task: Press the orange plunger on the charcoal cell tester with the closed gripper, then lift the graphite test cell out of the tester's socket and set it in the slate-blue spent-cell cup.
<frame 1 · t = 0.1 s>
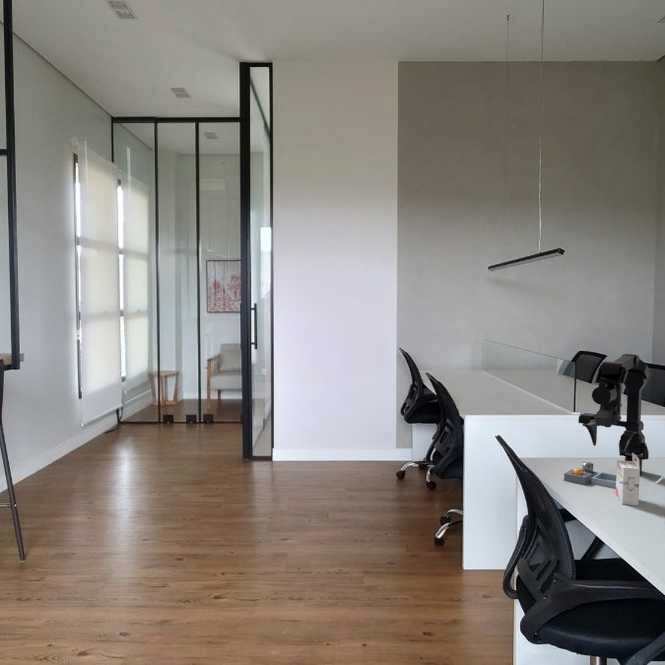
hand: (609, 448, 198), 15 cm above the table, fingers open, 9 cm apart
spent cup: (610, 484, 207), on the table
ink cartridge box: (626, 501, 191), on the table
tester button: (578, 472, 209), point 3 cm above the table, slide at 0.0 cm
tester: (582, 479, 213), on the table
test cell: (587, 474, 216), point 1 cm above the table, touching tester
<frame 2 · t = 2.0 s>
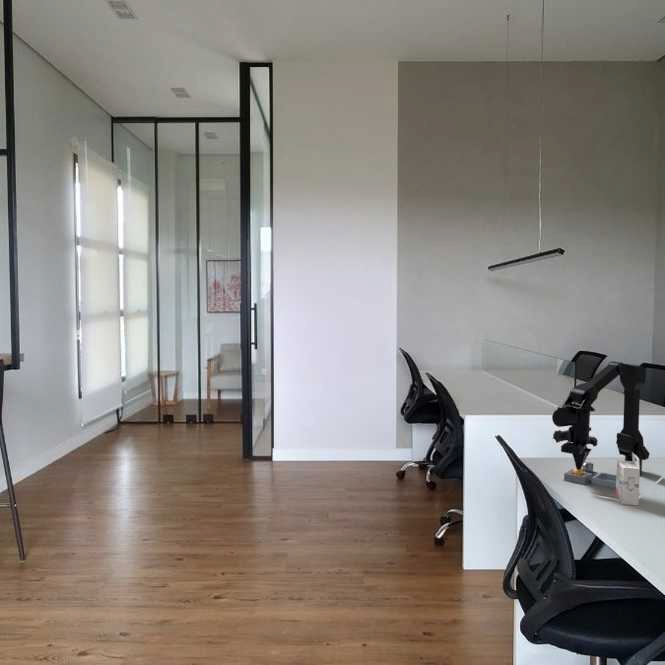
hand: (578, 469, 209), 4 cm above the table, fingers closed, pressing on tester button
tester button: (578, 472, 209), point 3 cm above the table, slide at 0.0 cm, touching gripper
everything else where it was.
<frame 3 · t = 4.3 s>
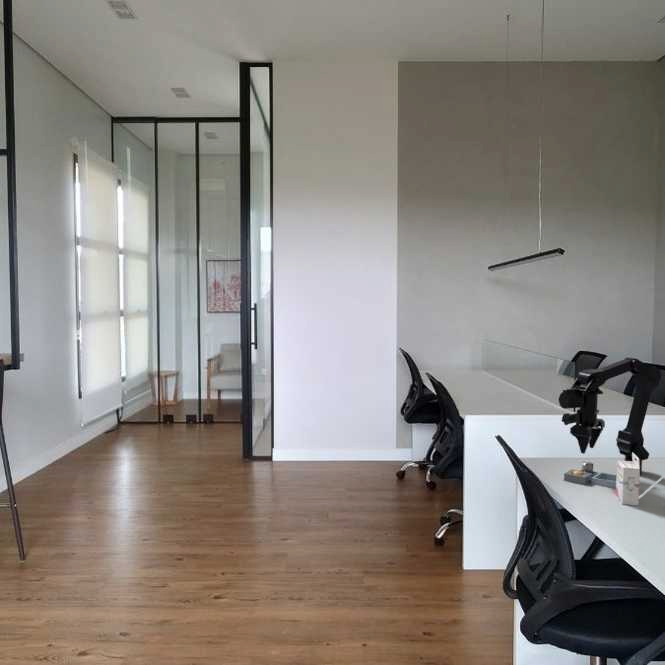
hand: (587, 450, 214), 10 cm above the table, fingers open, 9 cm apart
tester button: (578, 475, 209), point 2 cm above the table, slide at 1.0 cm
everything else where it was.
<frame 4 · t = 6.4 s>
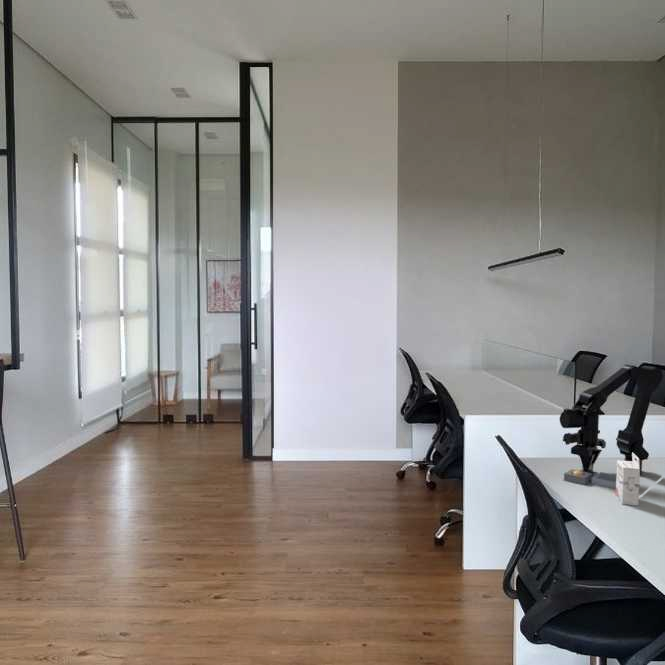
hand: (587, 470, 216), 2 cm above the table, fingers closed on test cell, 4 cm apart
test cell: (587, 474, 216), point 1 cm above the table, touching gripper, tester
everything else where it was.
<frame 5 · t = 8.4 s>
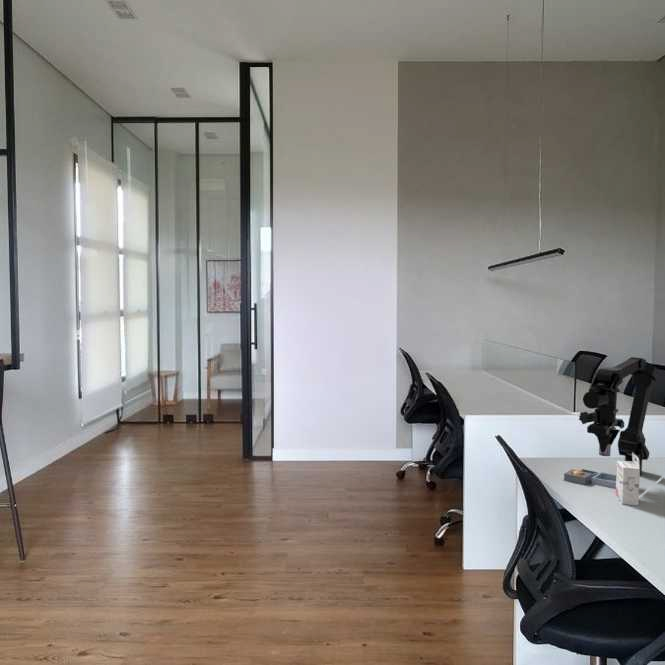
hand: (604, 450, 208), 11 cm above the table, fingers closed on test cell, 4 cm apart
test cell: (604, 454, 209), point 10 cm above the table, touching gripper
everything else where it was.
when the fingers open (3 cm above the table, at t = 10.7 s): test cell drops 1 cm, resting on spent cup.
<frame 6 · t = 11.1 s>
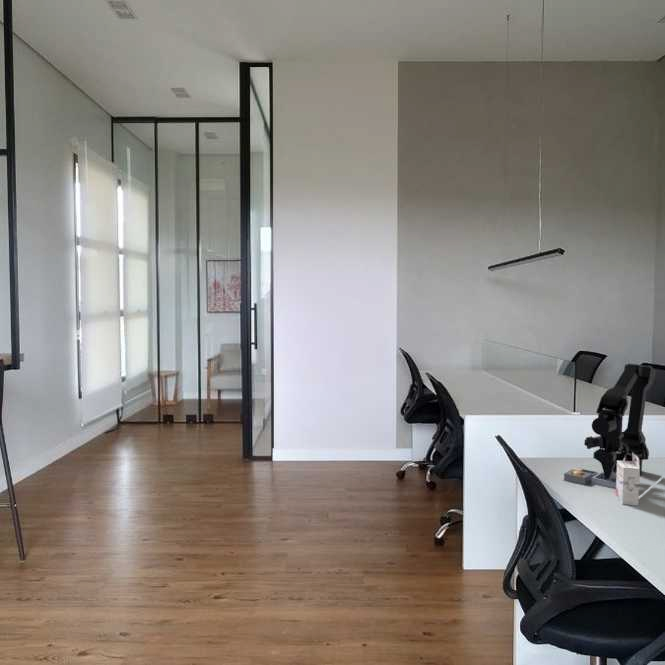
hand: (610, 476, 206), 3 cm above the table, fingers open, 7 cm apart
test cell: (610, 483, 207), point 1 cm above the table, touching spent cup
everything else where it was.
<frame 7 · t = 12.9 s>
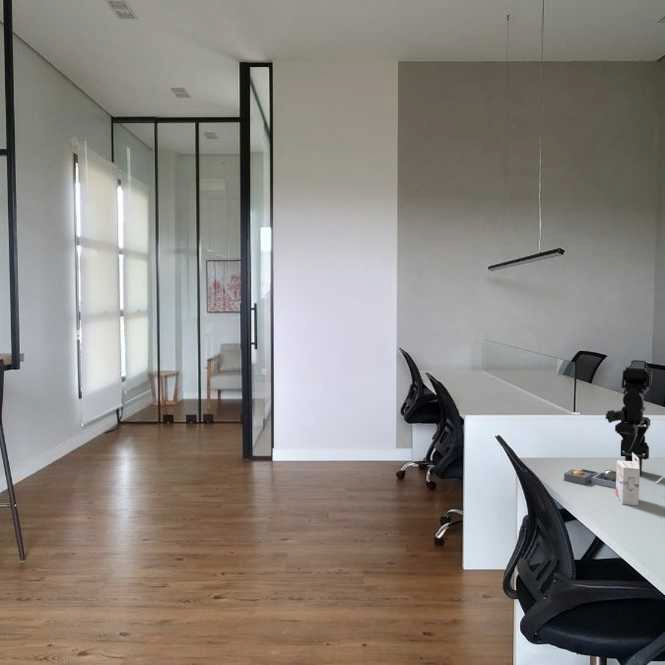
hand: (631, 449, 208), 12 cm above the table, fingers open, 9 cm apart
nothing on the table moved.
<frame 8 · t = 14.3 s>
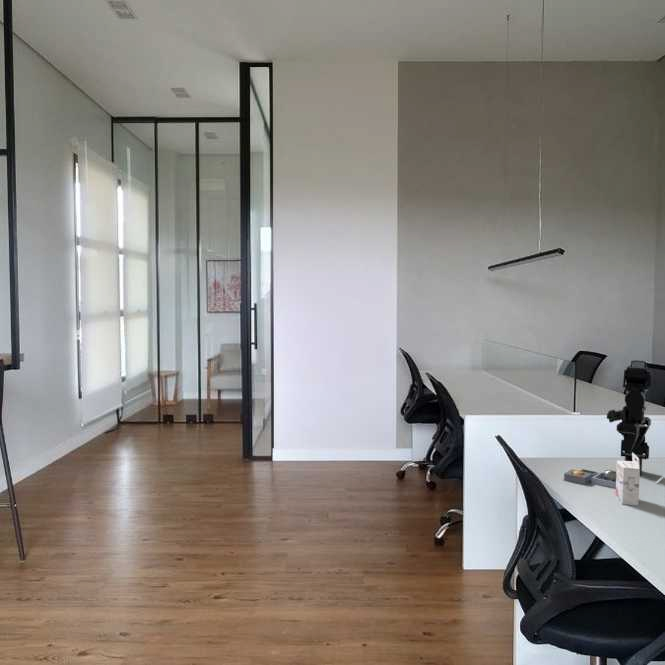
hand: (632, 449, 208), 12 cm above the table, fingers open, 9 cm apart
nothing on the table moved.
at the end: tester button slide at 1.0 cm; test cell 0.0 cm off-centre on the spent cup, point 0.6 cm above the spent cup's base; test cell tilted 0° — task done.
